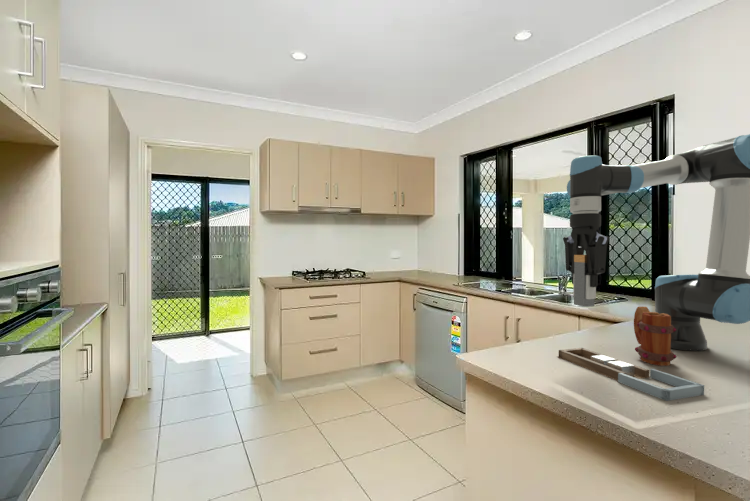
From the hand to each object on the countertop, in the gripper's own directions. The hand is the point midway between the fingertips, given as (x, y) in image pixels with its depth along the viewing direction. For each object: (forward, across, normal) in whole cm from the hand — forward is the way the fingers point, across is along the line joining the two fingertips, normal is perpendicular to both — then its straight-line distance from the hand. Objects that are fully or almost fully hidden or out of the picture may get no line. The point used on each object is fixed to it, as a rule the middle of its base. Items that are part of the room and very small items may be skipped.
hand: (584, 297), depth 103 cm
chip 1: (+17, +6, 0) cm, 19 cm away
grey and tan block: (+2, 0, 0) cm, 2 cm away
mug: (+19, +4, +19) cm, 27 cm away
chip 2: (+17, +11, 0) cm, 21 cm away
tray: (+18, +21, 0) cm, 28 cm away
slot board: (+18, +5, 0) cm, 19 cm away
